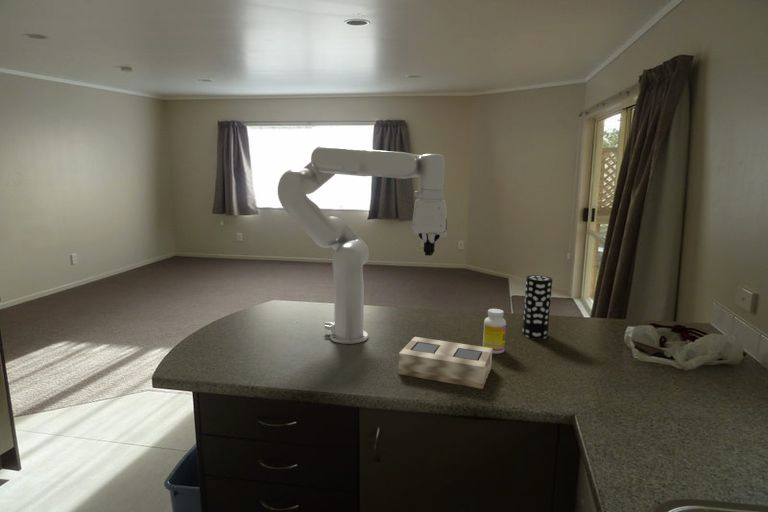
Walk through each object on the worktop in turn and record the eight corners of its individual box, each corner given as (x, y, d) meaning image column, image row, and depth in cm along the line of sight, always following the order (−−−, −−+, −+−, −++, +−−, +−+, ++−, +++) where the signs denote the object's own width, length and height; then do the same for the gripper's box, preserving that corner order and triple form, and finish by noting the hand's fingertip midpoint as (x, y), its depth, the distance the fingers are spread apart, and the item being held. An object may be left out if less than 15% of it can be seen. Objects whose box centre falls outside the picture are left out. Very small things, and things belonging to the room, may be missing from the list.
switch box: (398, 373, 131) (398, 353, 130) (414, 355, 144) (414, 336, 143) (482, 388, 123) (483, 367, 122) (491, 368, 136) (492, 348, 135)
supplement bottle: (504, 355, 145) (507, 314, 143) (482, 353, 147) (484, 313, 144) (503, 347, 152) (506, 308, 149) (482, 345, 153) (484, 307, 151)
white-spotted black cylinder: (552, 336, 162) (557, 279, 159) (536, 341, 158) (541, 282, 154) (532, 329, 169) (537, 274, 166) (517, 333, 165) (521, 277, 161)
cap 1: (411, 363, 133) (412, 349, 133) (418, 355, 139) (418, 342, 138) (432, 366, 131) (433, 353, 131) (438, 358, 137) (438, 345, 136)
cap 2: (453, 370, 129) (454, 356, 128) (458, 362, 135) (459, 348, 134) (476, 374, 127) (476, 360, 126) (480, 365, 133) (480, 352, 132)
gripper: (403, 195, 144) (402, 255, 148) (452, 197, 139) (449, 259, 142) (411, 194, 151) (409, 251, 155) (457, 195, 146) (455, 254, 149)
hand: (428, 254), depth 148 cm, fingers closed
